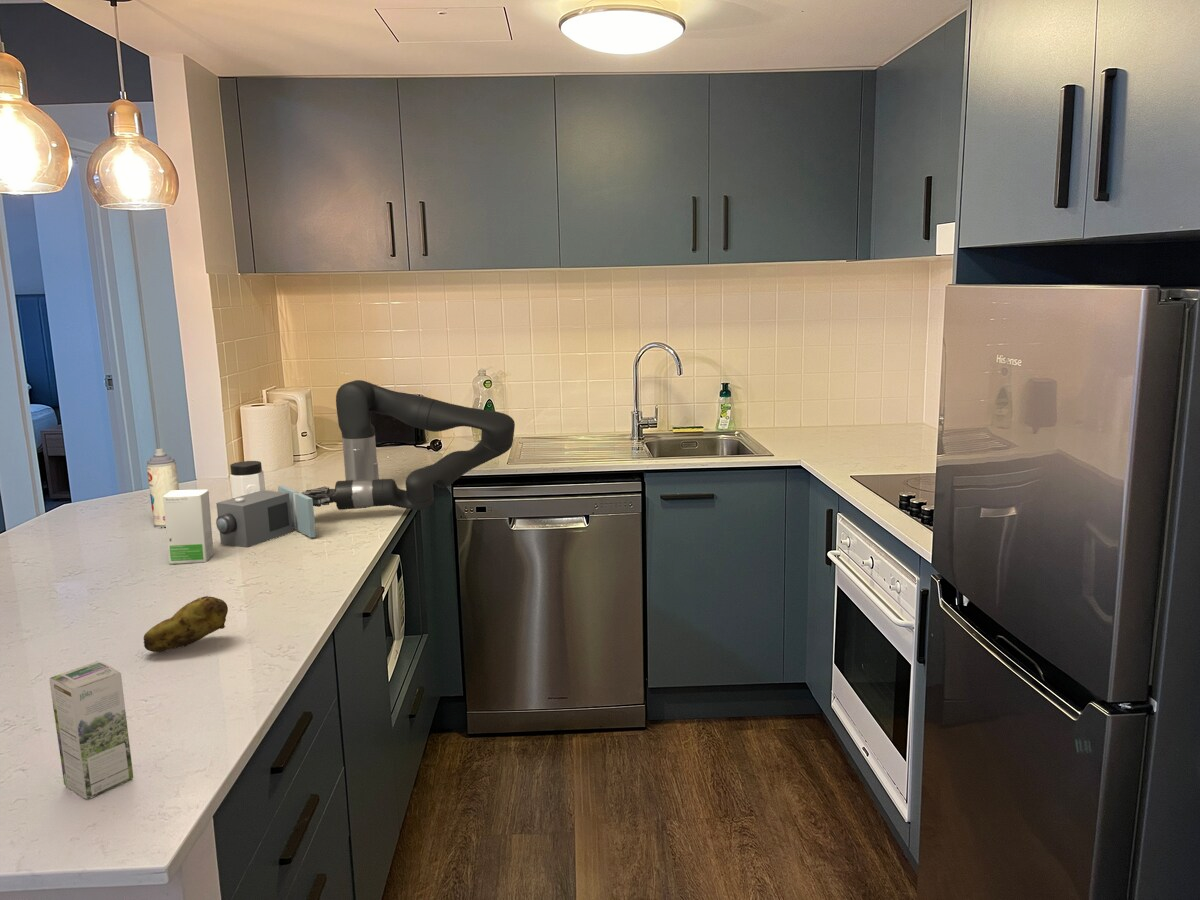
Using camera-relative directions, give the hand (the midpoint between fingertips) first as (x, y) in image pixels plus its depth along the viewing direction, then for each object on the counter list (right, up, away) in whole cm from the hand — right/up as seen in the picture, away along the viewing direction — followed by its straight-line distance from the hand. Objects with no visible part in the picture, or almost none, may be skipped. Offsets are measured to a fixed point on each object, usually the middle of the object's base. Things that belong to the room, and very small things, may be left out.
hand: (286, 498), depth 225 cm
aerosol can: (-32, -7, +3) cm, 33 cm away
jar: (-18, -3, +22) cm, 29 cm away
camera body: (-3, -9, -13) cm, 16 cm away
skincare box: (-11, -12, -27) cm, 32 cm away
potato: (+11, -21, -76) cm, 80 cm away
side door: (+6, -8, -7) cm, 12 cm away
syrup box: (+19, -29, -118) cm, 123 cm away
